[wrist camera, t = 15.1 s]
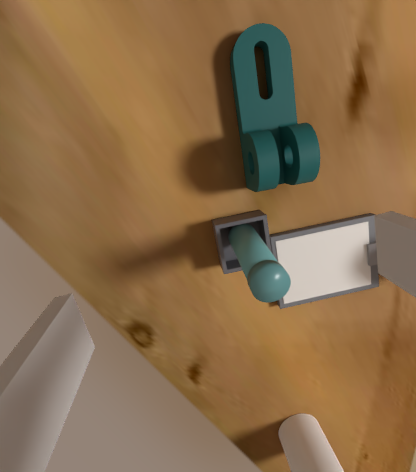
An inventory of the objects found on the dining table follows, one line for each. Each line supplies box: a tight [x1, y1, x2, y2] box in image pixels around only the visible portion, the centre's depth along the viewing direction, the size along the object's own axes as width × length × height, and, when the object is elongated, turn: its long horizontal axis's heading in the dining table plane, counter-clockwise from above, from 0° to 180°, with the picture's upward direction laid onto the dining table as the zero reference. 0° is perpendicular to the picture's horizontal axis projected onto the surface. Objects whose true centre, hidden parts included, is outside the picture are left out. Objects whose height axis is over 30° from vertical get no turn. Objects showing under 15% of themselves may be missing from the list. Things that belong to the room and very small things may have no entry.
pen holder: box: [212, 210, 272, 274], centre depth 41 cm, size 7×7×4 cm
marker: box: [228, 223, 291, 302], centre depth 35 cm, size 4×4×14 cm
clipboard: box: [269, 213, 379, 309], centre depth 44 cm, size 11×15×2 cm
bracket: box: [230, 23, 320, 192], centre depth 35 cm, size 18×7×8 cm, turn 10°
